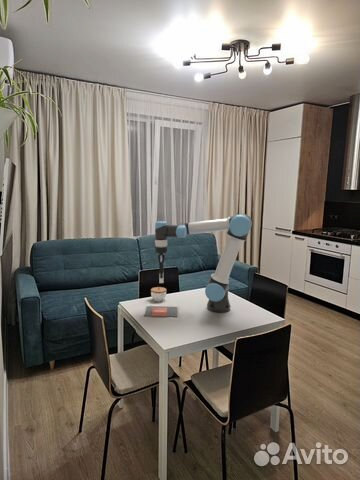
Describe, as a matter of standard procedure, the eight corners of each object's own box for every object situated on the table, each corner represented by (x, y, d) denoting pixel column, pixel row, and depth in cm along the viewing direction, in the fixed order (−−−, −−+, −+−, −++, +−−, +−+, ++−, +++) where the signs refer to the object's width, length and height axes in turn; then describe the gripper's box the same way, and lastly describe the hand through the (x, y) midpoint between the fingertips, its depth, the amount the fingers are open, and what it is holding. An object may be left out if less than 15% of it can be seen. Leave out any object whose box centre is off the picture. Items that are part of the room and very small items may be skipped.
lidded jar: (169, 299, 227) (169, 286, 226) (160, 303, 218) (160, 290, 217) (156, 296, 233) (157, 283, 231) (147, 300, 224) (147, 287, 222)
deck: (152, 307, 203) (151, 312, 195) (167, 307, 203) (166, 312, 195) (152, 310, 203) (151, 315, 195) (167, 311, 203) (166, 315, 195)
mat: (177, 307, 212) (177, 306, 212) (177, 317, 196) (177, 316, 196) (146, 307, 211) (146, 306, 211) (144, 316, 196) (144, 315, 195)
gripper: (155, 244, 209) (155, 280, 212) (154, 247, 196) (155, 285, 200) (167, 244, 209) (167, 279, 213) (167, 247, 197) (167, 285, 200)
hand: (161, 282), depth 206 cm, fingers closed
